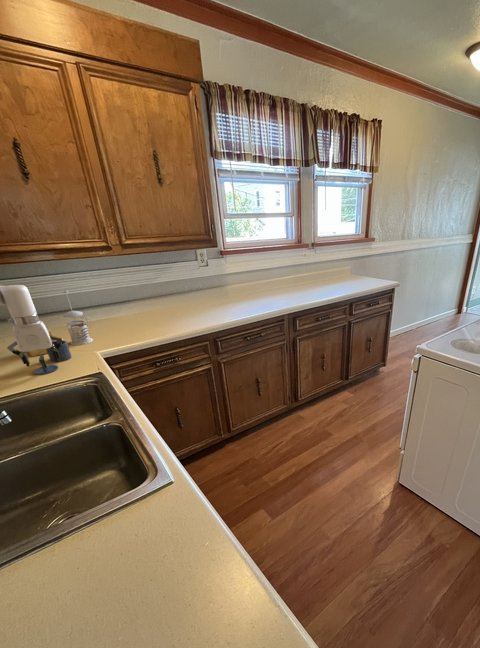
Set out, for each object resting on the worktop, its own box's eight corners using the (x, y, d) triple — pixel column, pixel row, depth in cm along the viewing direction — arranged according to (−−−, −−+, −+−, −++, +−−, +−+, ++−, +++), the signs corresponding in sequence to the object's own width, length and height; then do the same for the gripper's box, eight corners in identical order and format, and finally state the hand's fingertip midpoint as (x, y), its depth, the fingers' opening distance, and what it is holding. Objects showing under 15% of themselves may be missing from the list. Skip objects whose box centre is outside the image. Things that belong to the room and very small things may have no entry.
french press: (65, 343, 159) (47, 291, 147) (86, 336, 168) (71, 286, 157) (80, 346, 156) (62, 293, 144) (100, 338, 165) (86, 288, 154)
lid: (33, 377, 125) (27, 363, 122) (34, 370, 131) (28, 356, 128) (58, 373, 129) (53, 358, 126) (58, 365, 135) (53, 352, 132)
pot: (50, 364, 136) (44, 348, 132) (51, 358, 142) (45, 342, 138) (72, 361, 140) (66, 344, 136) (71, 355, 145) (66, 339, 142)
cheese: (31, 357, 143) (22, 335, 139) (28, 350, 150) (20, 329, 146) (59, 351, 149) (51, 330, 145) (55, 345, 157) (48, 325, 152)
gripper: (-6, 326, 113) (14, 370, 121) (54, 318, 122) (69, 361, 130) (-3, 321, 119) (16, 364, 127) (54, 314, 127) (69, 355, 135)
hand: (43, 362), depth 128 cm, fingers open, 9 cm apart
